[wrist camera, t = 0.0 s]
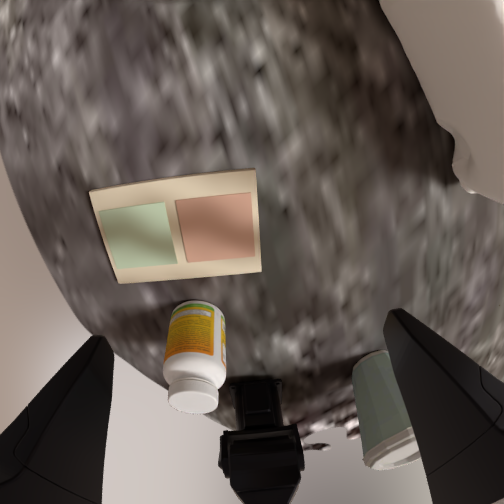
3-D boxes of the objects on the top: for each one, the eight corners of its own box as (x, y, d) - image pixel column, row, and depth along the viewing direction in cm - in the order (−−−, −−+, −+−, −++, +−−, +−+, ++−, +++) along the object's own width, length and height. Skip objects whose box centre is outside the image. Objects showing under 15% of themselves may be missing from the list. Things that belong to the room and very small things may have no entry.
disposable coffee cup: (326, 388, 39) (351, 483, 26) (353, 338, 33) (396, 451, 20) (388, 381, 40) (420, 462, 27) (420, 333, 35) (469, 424, 22)
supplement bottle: (160, 315, 29) (145, 399, 21) (199, 289, 27) (192, 378, 19) (197, 343, 31) (193, 423, 23) (236, 321, 30) (241, 406, 22)
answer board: (260, 268, 26) (261, 272, 26) (120, 280, 26) (118, 284, 26) (254, 167, 22) (255, 170, 21) (91, 190, 21) (88, 193, 21)
